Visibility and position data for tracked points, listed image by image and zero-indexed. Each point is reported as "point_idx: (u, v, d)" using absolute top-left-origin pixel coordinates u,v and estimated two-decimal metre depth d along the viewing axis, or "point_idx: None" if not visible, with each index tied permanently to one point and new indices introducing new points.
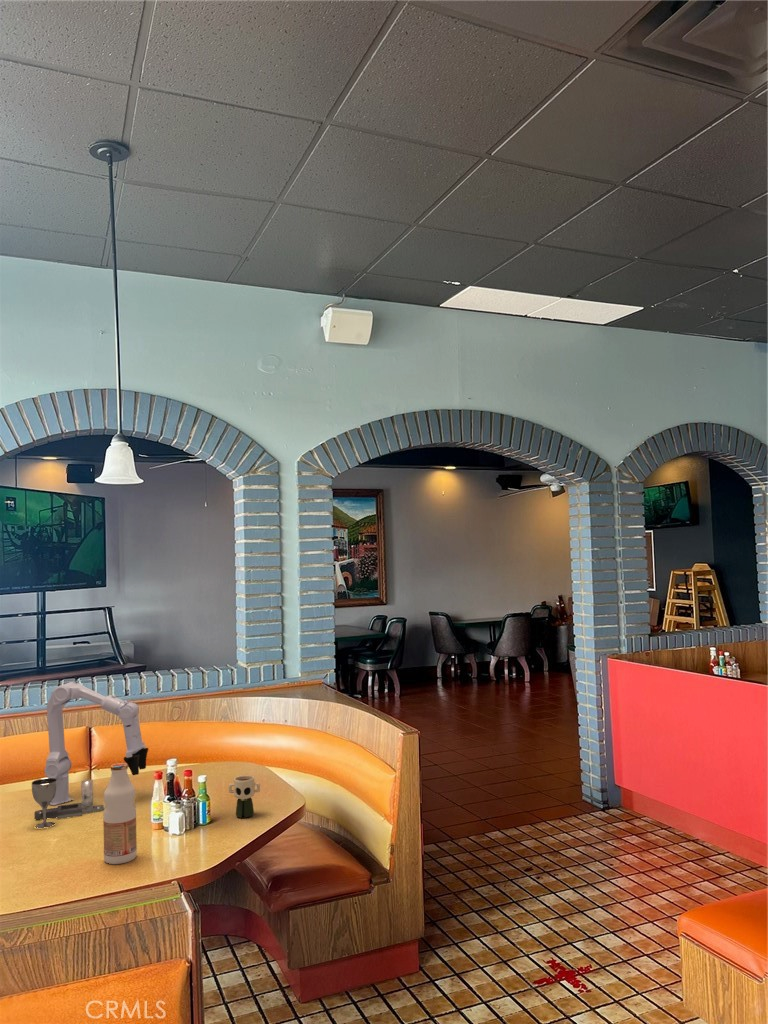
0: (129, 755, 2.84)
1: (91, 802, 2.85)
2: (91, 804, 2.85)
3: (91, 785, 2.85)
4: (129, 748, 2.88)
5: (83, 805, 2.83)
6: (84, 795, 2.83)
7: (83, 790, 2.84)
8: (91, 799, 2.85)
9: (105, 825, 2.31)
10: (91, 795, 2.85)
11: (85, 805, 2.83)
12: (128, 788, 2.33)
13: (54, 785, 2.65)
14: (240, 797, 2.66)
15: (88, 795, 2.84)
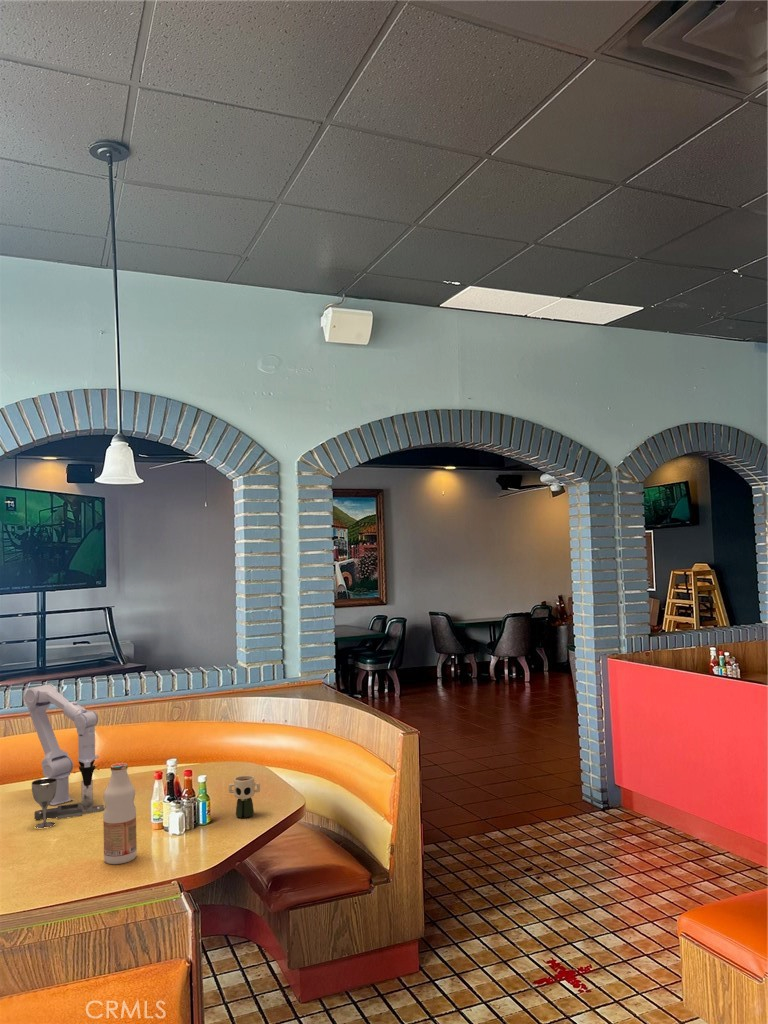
0: (88, 765, 2.79)
1: (91, 802, 2.85)
2: (91, 804, 2.85)
3: (91, 785, 2.85)
4: (83, 758, 2.83)
5: (83, 805, 2.83)
6: (84, 795, 2.83)
7: (83, 790, 2.84)
8: (91, 799, 2.85)
9: (105, 825, 2.31)
10: (91, 795, 2.85)
11: (85, 805, 2.83)
12: (127, 788, 2.33)
13: (54, 785, 2.65)
14: (240, 797, 2.66)
15: (88, 795, 2.84)
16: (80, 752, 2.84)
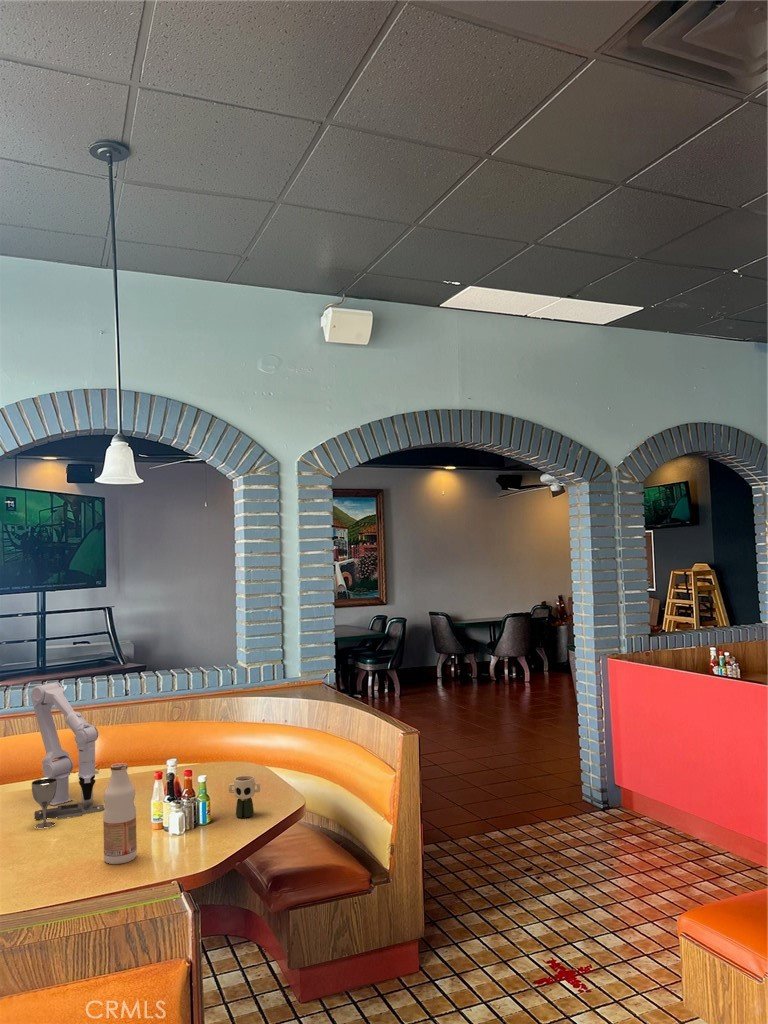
0: (88, 781, 2.79)
1: (91, 802, 2.85)
2: (91, 804, 2.85)
3: None
4: (83, 773, 2.83)
5: (83, 805, 2.83)
6: None
7: None
8: (91, 799, 2.85)
9: (105, 825, 2.31)
10: (91, 795, 2.85)
11: (85, 805, 2.83)
12: (127, 788, 2.33)
13: (54, 785, 2.65)
14: (240, 797, 2.66)
15: None
16: (80, 767, 2.84)
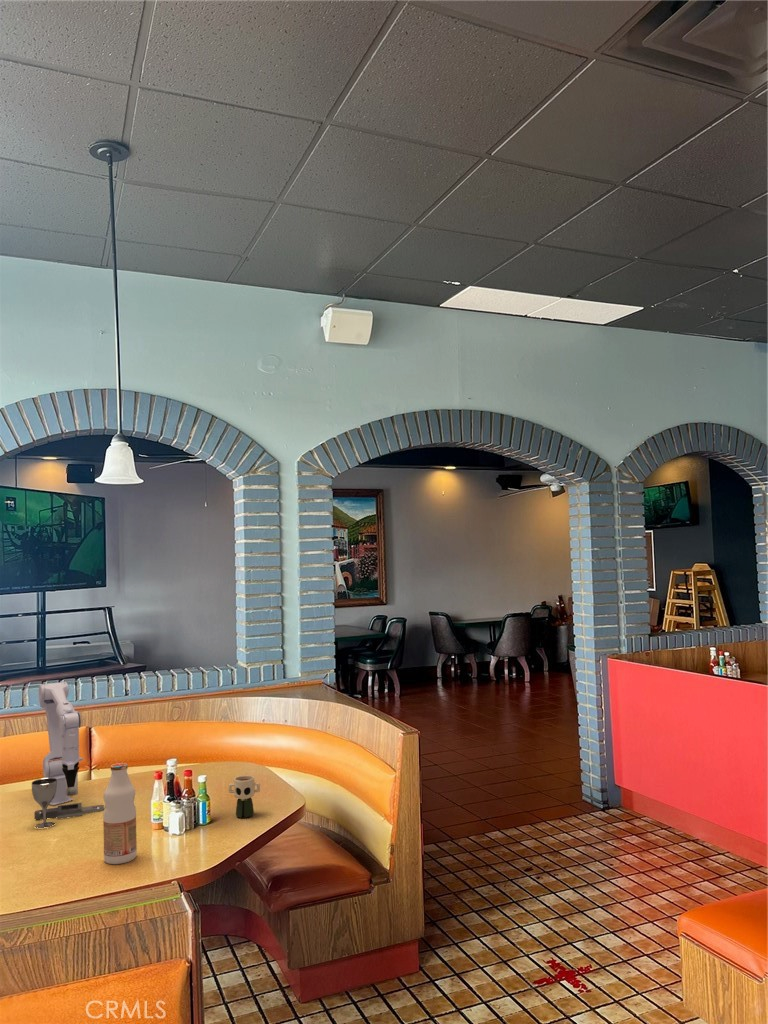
0: (71, 767, 2.71)
1: (76, 790, 2.77)
2: (76, 792, 2.77)
3: None
4: (67, 760, 2.75)
5: (68, 793, 2.76)
6: None
7: None
8: (76, 787, 2.77)
9: (105, 825, 2.31)
10: (76, 783, 2.77)
11: (70, 793, 2.76)
12: (127, 788, 2.33)
13: (54, 785, 2.65)
14: (240, 797, 2.66)
15: None
16: (63, 754, 2.76)
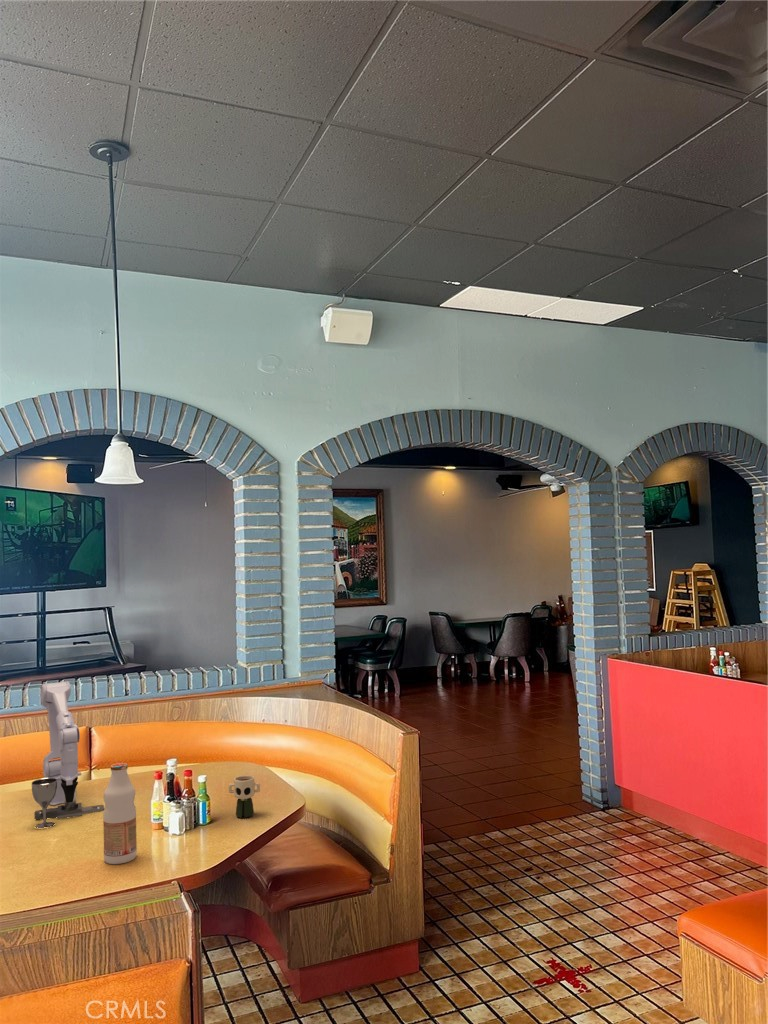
0: (70, 783, 2.71)
1: (75, 805, 2.76)
2: (75, 807, 2.76)
3: None
4: (65, 775, 2.74)
5: (66, 808, 2.75)
6: None
7: None
8: (75, 802, 2.76)
9: (105, 825, 2.31)
10: (75, 798, 2.76)
11: (69, 808, 2.75)
12: (127, 788, 2.33)
13: (54, 785, 2.65)
14: (240, 797, 2.66)
15: None
16: (62, 769, 2.75)
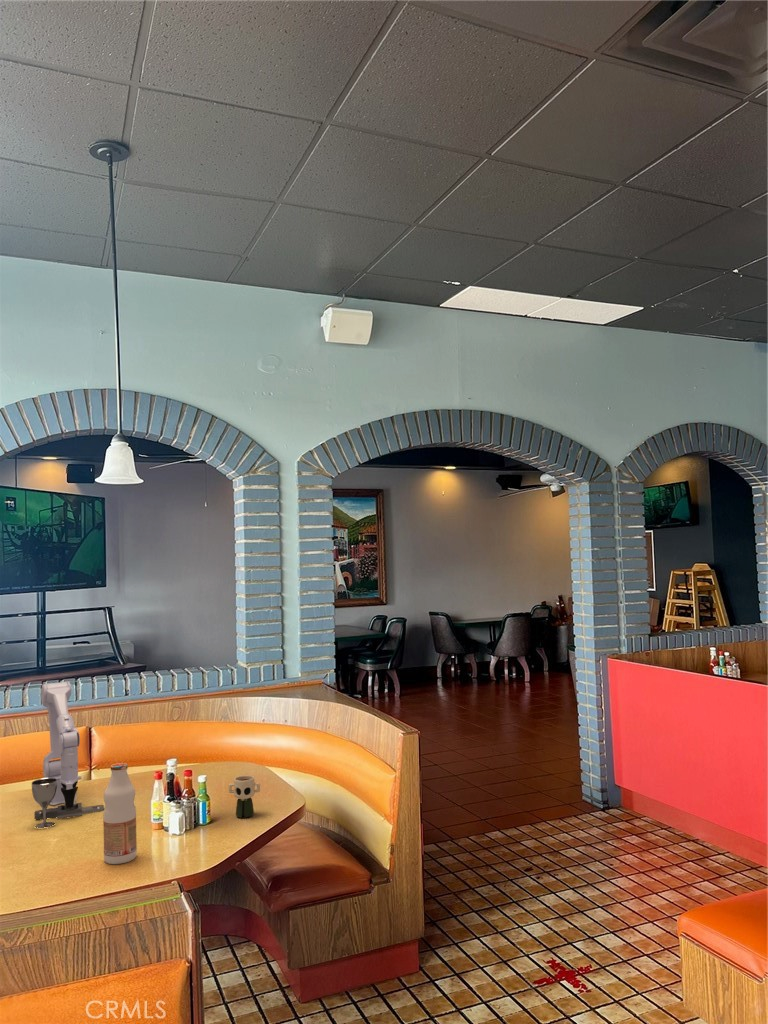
0: (70, 787, 2.70)
1: None
2: None
3: None
4: (66, 779, 2.74)
5: None
6: None
7: None
8: (75, 807, 2.76)
9: (105, 825, 2.31)
10: (75, 803, 2.76)
11: None
12: (127, 788, 2.33)
13: (54, 785, 2.65)
14: (240, 797, 2.66)
15: None
16: (62, 773, 2.75)
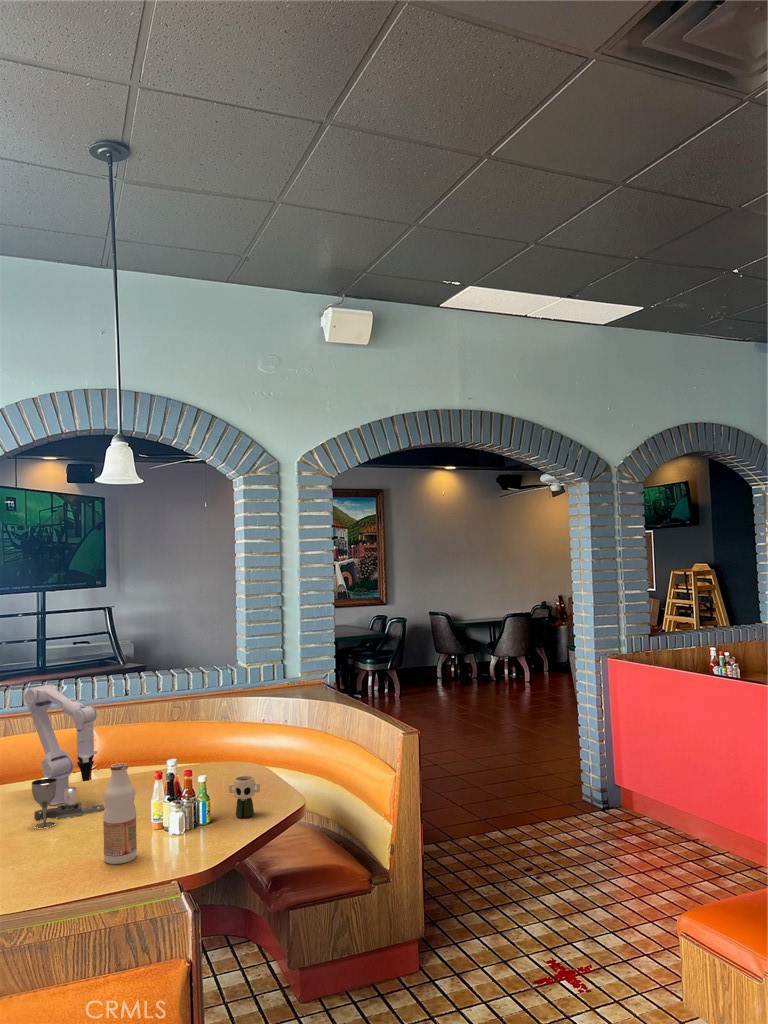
0: (86, 760, 2.79)
1: None
2: None
3: (75, 792, 2.77)
4: (82, 753, 2.83)
5: None
6: (67, 803, 2.75)
7: (66, 798, 2.75)
8: (75, 807, 2.76)
9: (105, 825, 2.31)
10: (75, 803, 2.76)
11: None
12: (127, 788, 2.33)
13: (54, 785, 2.65)
14: (240, 797, 2.66)
15: (72, 802, 2.75)
16: (79, 747, 2.83)
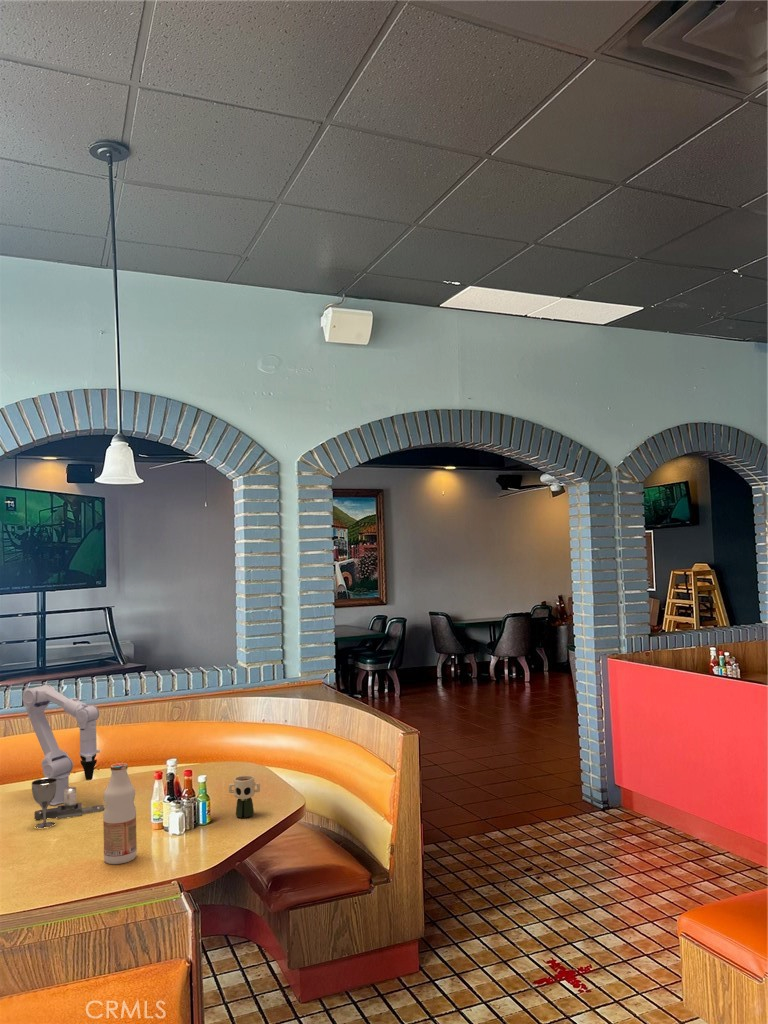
0: (89, 759, 2.80)
1: None
2: None
3: (75, 792, 2.77)
4: (85, 752, 2.84)
5: None
6: (67, 803, 2.75)
7: (66, 798, 2.75)
8: (75, 807, 2.76)
9: (105, 825, 2.31)
10: (75, 803, 2.76)
11: None
12: (127, 788, 2.33)
13: (54, 785, 2.65)
14: (240, 797, 2.66)
15: (72, 802, 2.75)
16: (81, 746, 2.84)
